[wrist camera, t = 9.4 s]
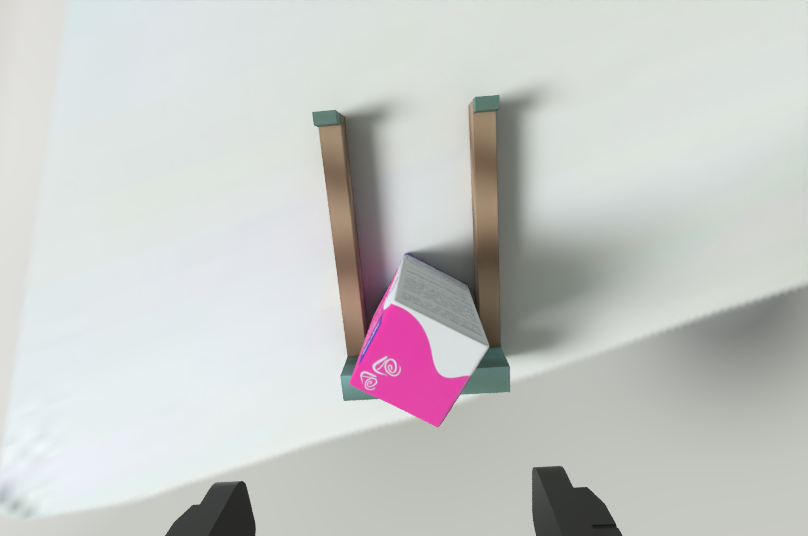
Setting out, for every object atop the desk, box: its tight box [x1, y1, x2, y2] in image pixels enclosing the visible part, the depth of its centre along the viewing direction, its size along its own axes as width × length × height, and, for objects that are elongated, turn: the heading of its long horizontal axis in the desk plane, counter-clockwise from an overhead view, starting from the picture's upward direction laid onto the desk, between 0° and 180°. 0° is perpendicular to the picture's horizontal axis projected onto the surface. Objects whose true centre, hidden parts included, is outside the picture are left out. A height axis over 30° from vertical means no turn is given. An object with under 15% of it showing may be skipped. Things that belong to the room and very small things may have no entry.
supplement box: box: [349, 253, 489, 427], centre depth 26 cm, size 6×6×12 cm
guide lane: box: [312, 95, 510, 401], centre depth 28 cm, size 20×12×5 cm, turn 4°
